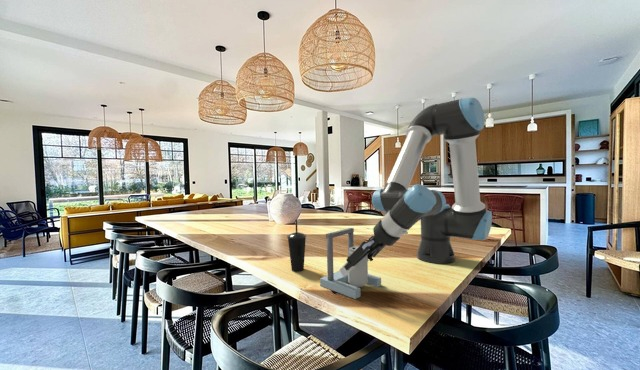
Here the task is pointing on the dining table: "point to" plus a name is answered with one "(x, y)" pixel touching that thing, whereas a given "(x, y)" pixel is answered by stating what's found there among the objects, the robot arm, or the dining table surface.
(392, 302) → the dining table surface
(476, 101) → the robot arm
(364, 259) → the beverage can
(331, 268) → the grey arch frame
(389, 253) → the dining table surface
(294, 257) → the drinking cup
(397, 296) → the dining table surface
